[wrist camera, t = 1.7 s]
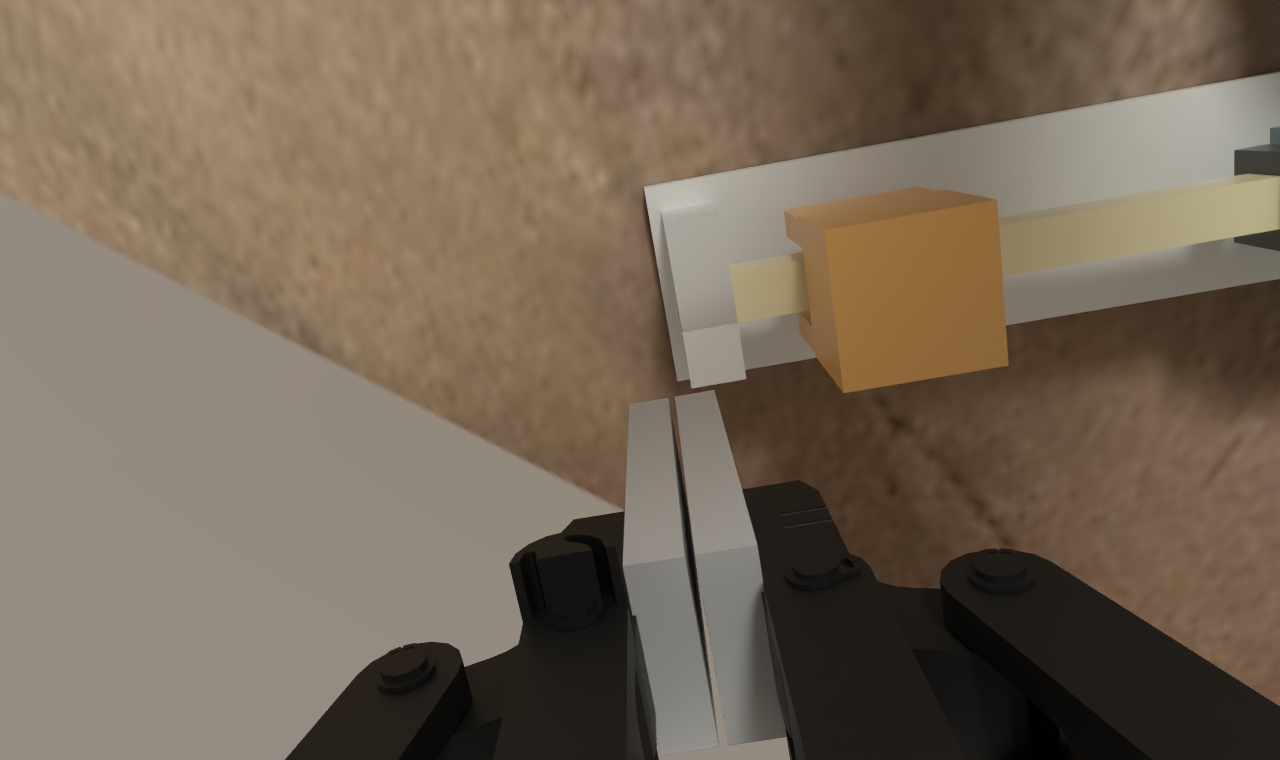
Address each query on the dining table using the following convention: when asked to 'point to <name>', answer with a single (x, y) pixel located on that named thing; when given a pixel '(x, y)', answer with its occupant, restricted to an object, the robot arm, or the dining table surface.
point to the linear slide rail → (1027, 209)
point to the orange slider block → (902, 286)
